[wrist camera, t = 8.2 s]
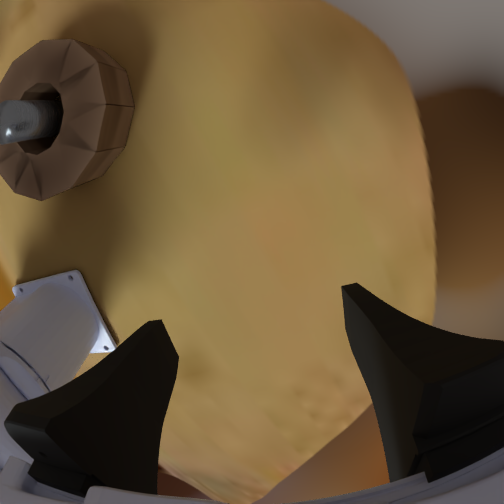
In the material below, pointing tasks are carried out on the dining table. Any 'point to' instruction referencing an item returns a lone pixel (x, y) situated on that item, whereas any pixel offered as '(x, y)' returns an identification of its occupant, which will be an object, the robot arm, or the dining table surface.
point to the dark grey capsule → (29, 120)
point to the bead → (67, 117)
